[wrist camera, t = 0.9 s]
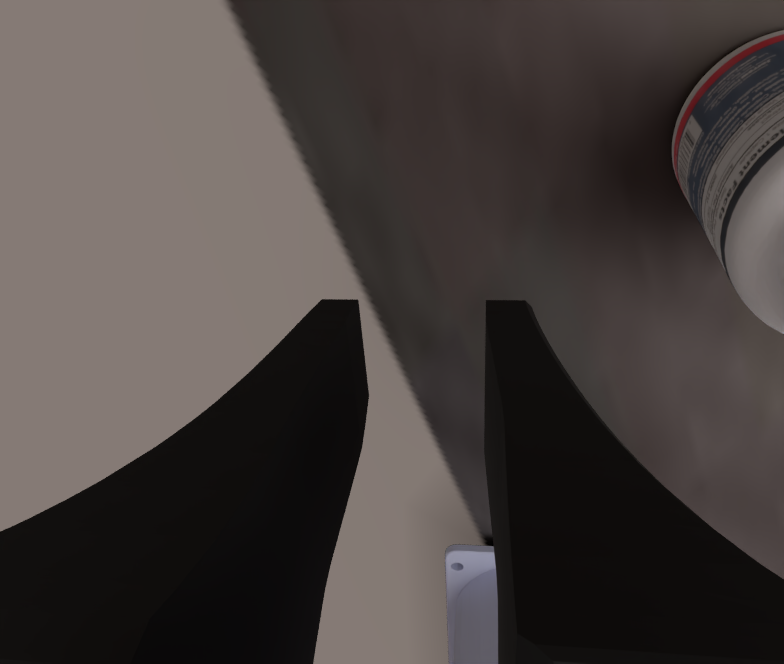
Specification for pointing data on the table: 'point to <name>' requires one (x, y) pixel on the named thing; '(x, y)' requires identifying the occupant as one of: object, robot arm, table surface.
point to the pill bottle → (740, 169)
